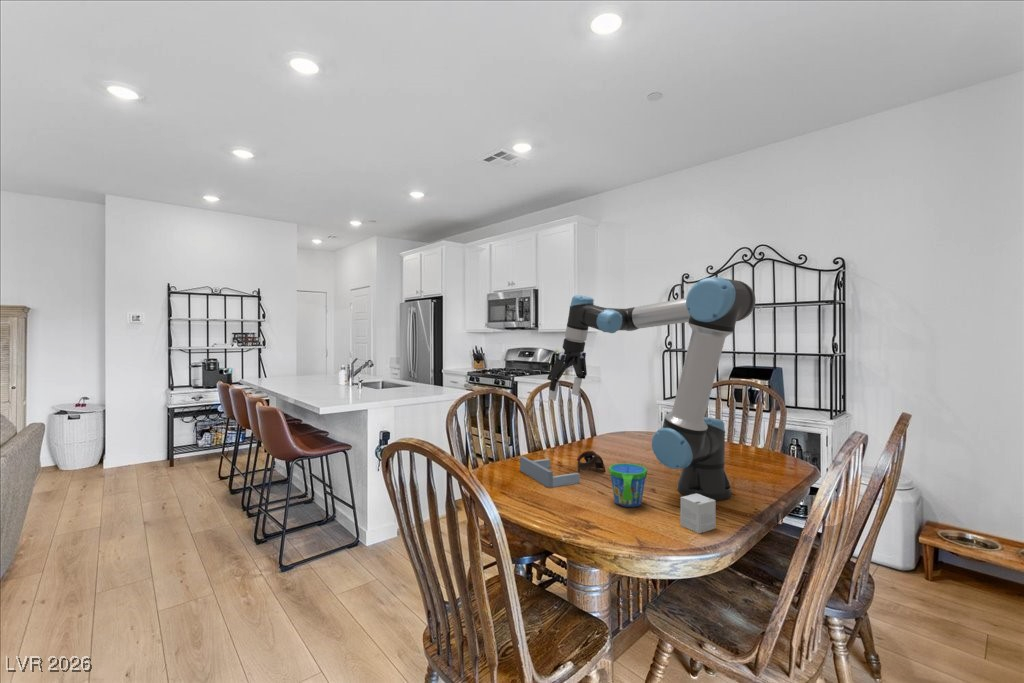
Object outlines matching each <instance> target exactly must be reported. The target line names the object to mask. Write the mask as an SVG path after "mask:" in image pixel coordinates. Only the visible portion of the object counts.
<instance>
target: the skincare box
mask: <svg viewBox="0 0 1024 683" xmlns="http://www.w3.org/2000/svg"><path fill="white" fill-rule="evenodd" d="M716 501H717V500H713V499H710V498H708V497H705V496H703V495H700V494H697V493H696V494H692V495H688V496H685V495H683V496H680V511H679V512H680V514H679V515H680V517H679V519H680V522H679V523H680V526H682V527H683V528H686V529H688V530H690V529H691V531H692V530H693V531H692V532H695V533H697V532H698V533H697V534H699V533H700V534H702V532H703V533H705V532H709V531H712V530H715V528H717V527H716V525H717V523H716V521H717V520H716V518H717V517H716V514H717V513H716V512H717V510H716V509H717V508H716Z"/></svg>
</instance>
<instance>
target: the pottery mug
mask: <svg viewBox="0 0 1024 683" xmlns="http://www.w3.org/2000/svg"><path fill="white" fill-rule="evenodd" d="M582 459H584V460H585V462H581V460H582ZM576 466H577V472H579V473H580V471H587V470H590V469H601V470H603V472H604V473H606V466H605V463H604V460H603V458H602V457H601V455H599V454H598V453H596V451H594V450H586V451H584V452H581V454H579V455H578V456H577V465H576Z"/></svg>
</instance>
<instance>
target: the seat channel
mask: <svg viewBox="0 0 1024 683" xmlns="http://www.w3.org/2000/svg"><path fill="white" fill-rule="evenodd" d="M519 471H520V472H522V473H523V474H525V475H527V476H528V477H529V478H531V479H533V480H535V481H536V482H538V483H539V484H541V485H543V486H545V487H547V488H548V489H549V488H550V489H551V488H555V487H563V486H567V485H568V486H569V485H576V484H580V481H581V479H580V478H581V476H580V472H579V473H578V472H574V473H573V472H572V473H567V474H560V475H559V474H558V475H554V471H553V470H551V459H549V458H545V459H544V458H543V459H535V460H532V459H529V458H528V457H526V456H519Z"/></svg>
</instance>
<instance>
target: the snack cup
mask: <svg viewBox="0 0 1024 683" xmlns="http://www.w3.org/2000/svg"><path fill="white" fill-rule="evenodd" d="M608 468H609V469H608V473H609V475H610V479H611V488H612V493H613V499H614V502H615V503H616V505H618V506H622V507H625V508H634V507H635V508H636V507H639V506H641V504H642V502H643V495H644V490H645V484H646V477H647V476H648V470H647V469H648V468H646V467H644V466H643V465H639V464H635V463H626V462H624V463H622V462H621V463H614V464H611V465H610V466H609V467H608Z"/></svg>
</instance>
